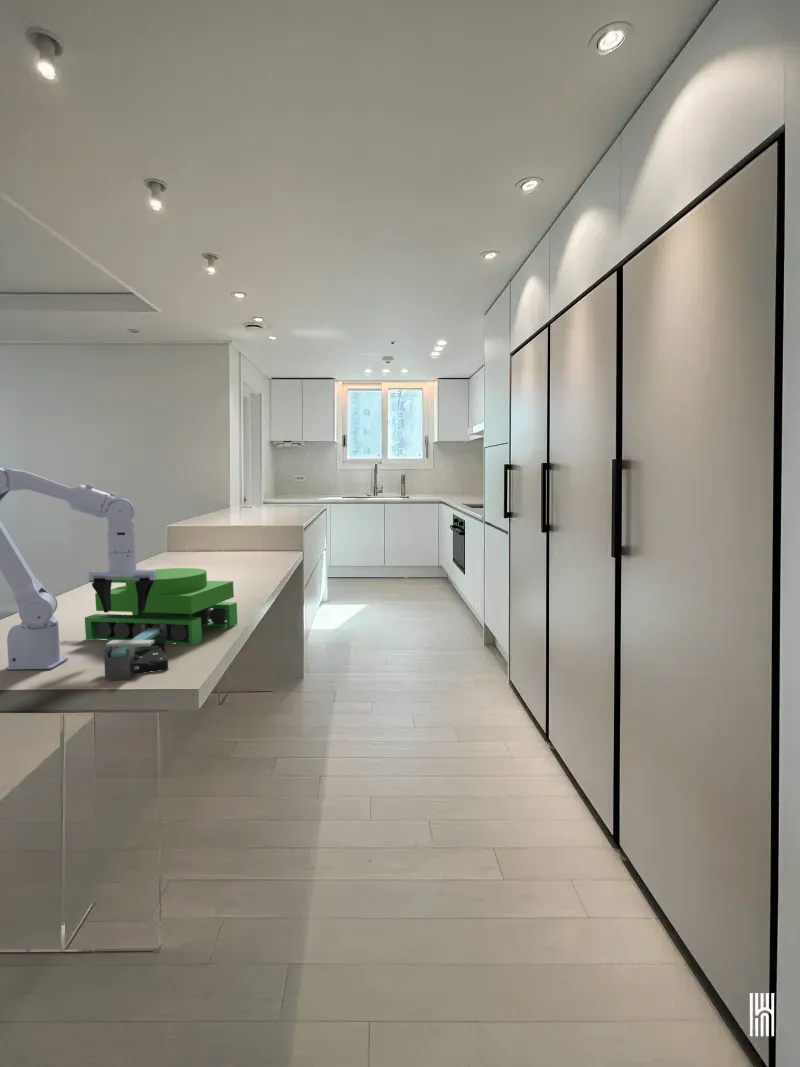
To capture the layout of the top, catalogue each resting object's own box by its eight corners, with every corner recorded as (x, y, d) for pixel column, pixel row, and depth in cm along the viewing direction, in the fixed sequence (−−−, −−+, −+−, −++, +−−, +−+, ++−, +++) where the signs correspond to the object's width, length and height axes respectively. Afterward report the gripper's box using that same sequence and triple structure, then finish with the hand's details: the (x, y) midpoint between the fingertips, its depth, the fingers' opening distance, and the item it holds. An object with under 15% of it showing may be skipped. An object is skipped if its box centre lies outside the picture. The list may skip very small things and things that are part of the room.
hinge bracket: (142, 652, 154) (141, 624, 153) (144, 650, 156) (143, 623, 155) (164, 652, 154) (163, 624, 153) (167, 650, 156) (166, 622, 155)
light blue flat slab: (95, 657, 134) (95, 650, 134) (135, 632, 155) (135, 625, 155) (140, 657, 134) (140, 649, 134) (174, 632, 155) (174, 625, 155)
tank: (126, 620, 191) (123, 564, 190) (238, 624, 183) (236, 566, 182) (67, 641, 168) (63, 577, 166) (192, 647, 160) (189, 580, 158)
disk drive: (169, 672, 141) (159, 654, 154) (169, 659, 140) (159, 642, 154) (116, 679, 136) (111, 660, 149) (116, 666, 136) (110, 648, 149)
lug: (104, 680, 134) (103, 648, 133) (109, 676, 136) (108, 645, 135) (130, 679, 134) (129, 648, 133) (135, 676, 136) (134, 645, 136)
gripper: (81, 554, 144) (84, 615, 146) (148, 553, 145) (150, 614, 146) (95, 550, 151) (98, 608, 153) (159, 549, 152) (161, 608, 153)
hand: (124, 611), depth 150 cm, fingers open, 7 cm apart
